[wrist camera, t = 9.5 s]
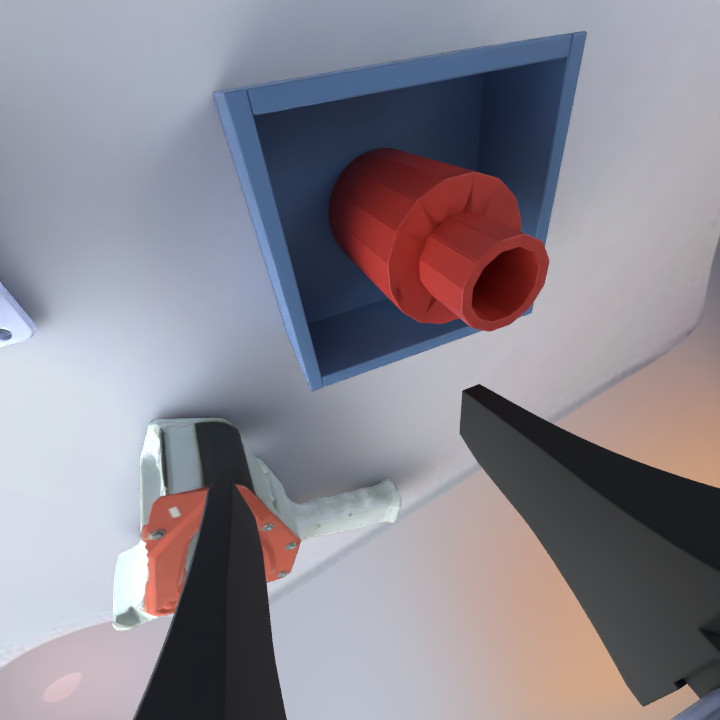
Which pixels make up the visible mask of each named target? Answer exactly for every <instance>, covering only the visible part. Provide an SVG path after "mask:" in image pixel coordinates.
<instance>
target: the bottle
mask: <svg viewBox="0 0 720 720" xmlns="http://www.w3.org/2000/svg"><path fill="white" fill-rule="evenodd" d="M329 222H330V227H331V231H332V233H333V236H334V238H335V240H336V242H337V244H338V245H339V246H340V248H341V249H342V250H343V251H344V253H345V254H346V255H347V256H348V257H349V258H350V259H351V260H352V261H353V262H354V263H355V264H356V265H357V266H358V268H359V269H360V270H361V271H362V272H363V273H364V274H365V275H366V276H367V277H368V278H369V279H370V280H371V281H372V282H373V283H374V284H375V285H376V286H377V287H378V288H379V289H380V290H381V291H382V292H383V293H384V294H385V295H386V296H387V297H388V298H389V299H390V300H391V301H392V302H393V303H394V304H395V305H396V306H397V307H398V308H399V309H400V310H401V311H402V312H403V313H405V314H406V315H408V316H410V317H412V318H413V319H415V320H417V321H418V322H421V323H439V324H442V323H446V322H449V321H452V320H455V319H458V318H460V319H461V320H463V321H464V322H465V323H466V324H467V325H469V326H470V327H471V328H474V329H479V330H484V331H493V330H496V329H498V328H501V327H504V326H507V325H509V324H511V323H512V322H514V321H515V320H516V319H517V318H518V317H519V316H521V315H522V314H523V313H524V312H525V311H527V310H528V309H529V308H530V307H531V305H532V304H533V302H534V300H535V299H536V297H537V296H538V294H539V292H540V291H541V289H542V288H543V286H544V284H545V279H546V275H547V270H548V265H549V258H548V255H547V252H546V250H545V247H544V244H543V242H542V241H541V240H539V239H537V238H534V237H532V236H530V235H527V234H525V233H523V232H521V226H522V224H521V223H522V222H521V218H520V213H519V208H518V204H517V199H516V197H515V196H514V195H513V193H512V192H511V191H510V190H509V189H508V187H507V186H506V185H505V184H504V183H503V182H502V180H501V179H499V178H497V177H493V176H490V175H486V174H483V173H479V172H476V171H472V170H469V169H465V168H461V167H458V166H454V165H451V164H447V163H443V162H440V161H436V160H432V159H429V158H425V157H422V156H418V155H414V154H411V153H407V152H403V151H400V150H396V149H393V148H379V149H374V150H370V151H368V152H365V153H363V154H361V155H360V156H358V157H357V158H355V159H354V160H353V161H352V162H351V163H349V164H348V165H347V167H346V168H345V169H344V170H343V171H342V173H341V174H340V176H339V177H338V179H337V181H336V183H335V185H334V188H333V191H332V194H331V198H330V203H329Z"/></svg>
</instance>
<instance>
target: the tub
mask: <svg viewBox="0 0 720 720" xmlns="http://www.w3.org/2000/svg"><path fill="white" fill-rule="evenodd" d="M586 35H587V32H586V31H581V32H574V33H568V34H561V35H555V36H548V37H541V38H535V39H528V40H522V41H515V42H508V43H502V44H495V45H489V46H483V47H477V48H471V49H465V50H459V51H453V52H447V53H441V54H435V55H429V56H423V57H417V58H411V59H405V60H400V61H394V62H388V63H382V64H376V65H370V66H364V67H358V68H352V69H346V70H340V71H334V72H328V73H322V74H316V75H310V76H304V77H299V78H293V79H287V80H281V81H275V82H269V83H263V84H257V85H251V86H245V87H239V88H233V89H227V90H221V91H215V92H213V96H214V100H215V103H216V106H217V109H218V113H219V116H220V119H221V122H222V125H223V129H224V132H225V135H226V138H227V142H228V145H229V148H230V151H231V154H232V158H233V161H234V164H235V167H236V171H237V174H238V177H239V180H240V183H241V187H242V190H243V193H244V196H245V200H246V203H247V206H248V209H249V212H250V216H251V219H252V222H253V225H254V229H255V232H256V235H257V238H258V241H259V245H260V248H261V251H262V254H263V258H264V261H265V264H266V267H267V270H268V274H269V277H270V280H271V283H272V287H273V290H274V293H275V296H276V299H277V303H278V306H279V309H280V312H281V316H282V319H283V322H284V325H285V329H286V332H287V335H288V337H289V339H290V342H291V344H292V347H293V349H294V351H295V354H296V356H297V359H298V361H299V363H300V366H301V368H302V370H303V373H304V375H305V378H306V380H307V382H308V385H309V387H310V390H311V391H314V390H317V389H320V388H323V387H324V386H328V385H331V384H333V383H336V382H339V381H342V380H345V379H347V378H350V377H353V376H356V375H359V374H361V373H364V372H367V371H370V370H373V369H376V368H378V367H381V366H384V365H387V364H390V363H392V362H395V361H398V360H401V359H404V358H406V357H409V356H412V355H415V354H418V353H421V352H423V351H426V350H429V349H432V348H435V347H437V346H440V345H443V344H446V343H449V342H451V341H454V340H457V339H460V338H463V337H466V336H468V335H471V334H474V333H477V332H480V331H482V330H479V329H474V328H471V327H470V326H469V325H467V324H466V323H465V322H464V321H463V320H461V319H460V318H458V319H455V320H452V321H449V322H446V323H442V324H439V323H421V322H418V321H417V320H415V319H413V318H412V317H410V316H408V315H406V314H405V313H403V312H402V311H401V310H400V309H399V308H398V307H397V306H396V305H395V304H394V303H393V302H392V301H391V300H390V299H389V298H388V297H387V296H386V295H385V294H384V293H383V292H382V291H381V290H380V289H379V288H378V287H377V286H376V285H375V284H374V283H373V282H372V281H371V280H370V279H369V278H368V277H367V276H366V275H365V274H364V273H363V272H362V271H361V270H360V269H359V268H358V266H357V265H356V264H355V263H354V262H353V261H352V260H351V259H350V258H349V257H348V256H347V255H346V254H345V253H344V251H343V250H342V249H341V248H340V246H339V245H338V244H337V242H336V240H335V238H334V236H333V233H332V231H331V227H330V222H329V203H330V198H331V194H332V191H333V188H334V185H335V183H336V181H337V179H338V177H339V176H340V174H341V173H342V171H343V170H344V169H345V168H346V167H347V165H348V164H349V163H351V162H352V161H353V160H354V159H355V158H357V157H358V156H360V155H361V154H363V153H365V152H368V151H370V150H374V149H379V148H393V149H396V150H400V151H403V152H407V153H411V154H414V155H418V156H422V157H425V158H429V159H432V160H436V161H440V162H443V163H447V164H451V165H454V166H458V167H461V168H465V169H469V170H472V171H476V172H479V173H483V174H486V175H490V176H493V177H497V178H499V179H501V180H502V182H503V183H504V184H505V185H506V186H507V187H508V189H509V190H510V191H511V192H512V193H513V195H514V196H515V197H516V199H517V204H518V208H519V213H520V218H521V222H522V223H521V224H522V226H521V232H523V233H525V234H527V235H530V236H532V237H534V238H537V239H539V240H541V241H542V242H543V244H544V247H545V242H546V237H547V232H548V227H549V222H550V217H551V212H552V207H553V202H554V197H555V192H556V187H557V182H558V176H559V171H560V166H561V161H562V156H563V151H564V146H565V141H566V136H567V131H568V126H569V121H570V116H571V111H572V105H573V100H574V95H575V90H576V85H577V80H578V75H579V70H580V65H581V60H582V55H583V50H584V45H585V40H586ZM533 303H534V302H533ZM532 308H533V304H532V305H531V307H530V308H529V309H528V310H527V311H525V312H524V313H523V314H522V315H521V316H525V315H527V314H530V313H532ZM521 316H519V317H521ZM519 317H518V318H519Z"/></svg>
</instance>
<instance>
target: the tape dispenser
mask: <svg viewBox="0 0 720 720" xmlns="http://www.w3.org/2000/svg"><path fill="white" fill-rule="evenodd" d="M229 480H233V482H234V483H235V485H236V487H237V488H238V490H239V491H240V493H241V495H242V496H243V498H244V500H245V501H246V503H247V504H248V506H249V508H250V509H251V511H252V513H253V514H254V516H255V518H256V522H257V527H258V531H259V536H260V541H261V545H262V550H263V556H264V565H265V574H266V583H267V582H271V581H274V580H277V579H280V578H283V577H285V576H286V575H287V574H289V573H290V572H291V570H292V567H293V564H294V561H295V558H296V555H297V552H298V549H299V545H300V542H301V541H303V540H304V539H306V538H309V537H314V536H321V535H327V534H333V533H338V532H343V531H347V530H351V529H355V528H360V527H363V526H367V525H370V524H374V523H378V522H389V523H394V522H395V521H396V520H397V518H398V515H399V511H400V508H401V495H400V492H399V490H398V488H397V486H396V485H395V483H394V482H393V481H391V480H389V479H386V480H384V481H383V482H381V483H380V484H378V485H375V486H371V487H366V488H359V489H356V490H353V491H349V492H342V493H338V494H335V495H332V496H327V497H320V498H317V499H314V500H312V501H309V502H306V503H299V504H298V503H294V502H292V501H290V500H289V499H288V497H287V496H286V493H285V490H284V487H283V485H282V483H281V482H280V481H279V480H278V478H277V477H276V476H275V475H274V474H273V473H272V471H271V470H270V469H269V468H268V467H267V466H266V464H265V463H264V462H263V461H262V460H261V459H258V458H255V456H254V455H253V454H252V453H251V452H250V451H249V450H248V449H247V448H246V447H245V446H244V445H243V444H242V441H241V437H240V433H239V431H238V430H237V429H236V428H235V427H234V426H233V425H232V424H231V423H230V422H229V421H228V420H226V419H222V418H181V419H156V420H153V421H151V423H150V424H149V426H148V430H147V434H146V438H145V441H144V446H143V450H142V453H141V456H140V514H141V532H140V537H141V540H140V542H139V543H138V544H137V545H136V546H134V547H133V548H131V549H129V550H126V551H123V552H121V553H120V554H119V558H118V562H117V566H116V569H115V580H114V597H113V621H112V625H113V626H114V627H115V629H116V630H128V629H133V628H136V627H138V626H139V625H140V624H141V623H144V622H146V621H149V620H152V619H155V618H158V617H161V616H165V615H168V614H172V613H175V610H176V607H177V604H178V601H179V598H180V595H181V592H182V589H183V585H184V582H185V579H186V575H187V572H188V568H189V565H190V561H191V558H192V554H193V551H194V547H195V543H196V539H197V535H198V531H199V527H200V523H201V519H202V514H203V509H204V505H205V500H206V494H207V491H208V490H209V488H211V487H213V486H216V485H219V484H221V483H224V482H226V481H229Z"/></svg>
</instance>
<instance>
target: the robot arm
mask: <svg viewBox="0 0 720 720" xmlns="http://www.w3.org/2000/svg"><path fill="white" fill-rule="evenodd" d="M0 329H6V330H8V331H10V332H11V334H12V335H5V334H2V333H1V332H0V347H3V346H7V345H10V344H14V343H18V342H21V341H25V340H28V339H30V338H31V337H32V336H33V335H34V333H35V331H36V326H35V324H34V322H33V321H32V320H31V319H30V317H29V316H28V315H27V314H26V312H25V311H24V310H23V309H22V308H21V306H20V305H19V304H18V303H17V302H16V300H15V299H14V298H13V297H12V296H11V294H10V293H9V292H8V291H7V289H6V288H5V287H4V286H3V285H2V283H1V282H0ZM460 435H461V436H462V438H463V440H464V441H465V443H466V444H467V446H468V448H469V449H470V451H471V452H472V454H473V456H474V457H475V459H476V460H477V462H478V463H479V464H480V465H481V467H482V468H483V469H484V470H485V472H486V473H487V474H488V475H489V477H490V478H491V479H492V480H493V482H494V483H495V484H496V485H497V486H498V487H499V489H500V490H501V492H502V493H503V494H504V495H505V496H506V498H507V499H508V500H509V501H510V502H511V504H512V505H513V506H514V508H516V510H517V511H518V512H519V514H520V515H521V516H522V517H523V519H524V520H525V521H526V523H527V524H528V525H529V527H530V528H531V529H532V531H533V532H534V533H535V535H536V536H537V538H538V539H539V541H540V542H541V544H542V545H543V547H544V548H545V549H546V551H547V553H548V554H549V555H550V557H551V559H552V560H553V561H554V563H555V565H556V566H557V568H558V569H559V571H560V573H561V574H562V576H563V577H564V579H565V580H566V582H567V584H568V585H569V587H570V588H571V590H572V591H573V593H574V595H575V596H576V598H577V600H578V601H579V603H580V605H581V606H582V608H583V609H584V611H585V613H586V614H587V616H588V618H589V619H590V621H591V623H592V624H593V626H594V628H595V629H596V631H597V633H598V634H599V636H600V638H601V640H602V642H603V643H604V645H605V647H606V649H607V650H608V652H609V654H610V656H611V657H612V659H613V661H614V663H615V665H616V666H617V668H618V670H619V672H620V674H621V676H622V678H623V679H624V681H625V683H626V685H627V686H628V688H629V689H630V690H631V692H632V693H633V695H634V696H635V697H636V698H637V700H638V701H639V702H640V704H641V705H642V706H646V705H648V704H650V703H652V702H654V701H656V700H658V699H660V698H662V697H664V696H666V695H668V694H671V693H673V692H674V691H677V690H678V689H680V688H682V687H683V686H684V685H686V684H688V685H689V686H690V687H691V688H692V690H693V691H694V692H695V693H696V694H697V696H698V697H699V698H700V700H698V701H697V702H695V703H694V704H693V705H691V706H690V707H688V708H687V709H685V710H684V711H682V712H681V713H679V714H678V715H676V716H675V717H674V718H672V719H671V720H720V488H716V487H713V486H709V485H706V484H703V483H699V482H696V481H693V480H690V479H687V478H683V477H680V476H677V475H675V474H671V473H668V472H666V471H662V470H660V469H657V468H654V467H651V466H648V465H646V464H643V463H640V462H637V461H635V460H632V459H630V458H627V457H624V456H622V455H620V454H617V453H614V452H612V451H610V450H607V449H605V448H603V447H600V446H598V445H596V444H593V443H591V442H589V441H587V440H585V439H583V438H580V437H578V436H576V435H574V434H572V433H570V432H567V431H566V430H564V429H561V428H560V427H557V426H555V425H554V424H552V423H550V422H548V421H546V420H544V419H542V418H540V417H538V416H536V415H534V414H532V413H531V412H529V411H527V410H525V409H523V408H521V407H520V406H518V405H516V404H514V403H512V402H511V401H509V400H507V399H505V398H503V397H502V396H500V395H498V394H496V393H495V392H493V391H491V390H489V389H487V388H486V387H484V386H482V385H480V384H478V385H476V386H473V387H471V388H468V389H465V390H463V391H462V406H461V421H460ZM133 720H287V719H286V714H285V709H284V704H283V699H282V694H281V688H280V683H279V678H278V673H277V667H276V663H275V656H274V649H273V642H272V632H271V624H270V613H269V603H268V593H267V584H266V574H265V565H264V556H263V550H262V545H261V541H260V536H259V531H258V527H257V522H256V518H255V516H254V514H253V513H252V511H251V509H250V508H249V506H248V504H247V503H246V501H245V500H244V498H243V496H242V495H241V493H240V491H239V490H238V488H237V487H236V485H235V483H234V482H233V480H229V481H226V482H224V483H221V484H219V485H216V486H213V487H211V488H209V490H208V491H207V494H206V500H205V505H204V509H203V514H202V519H201V523H200V527H199V531H198V535H197V539H196V543H195V547H194V551H193V554H192V558H191V561H190V565H189V568H188V572H187V575H186V579H185V582H184V585H183V589H182V592H181V595H180V598H179V601H178V604H177V607H176V610H175V613H174V616H173V619H172V622H171V625H170V628H169V630H168V633H167V636H166V639H165V642H164V644H163V647H162V650H161V652H160V655H159V657H158V660H157V663H156V665H155V668H154V670H153V673H152V675H151V678H150V680H149V683H148V685H147V688H146V690H145V692H144V695H143V697H142V699H141V702H140V704H139V706H138V709H137V711H136V713H135V716H134V718H133Z"/></svg>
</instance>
